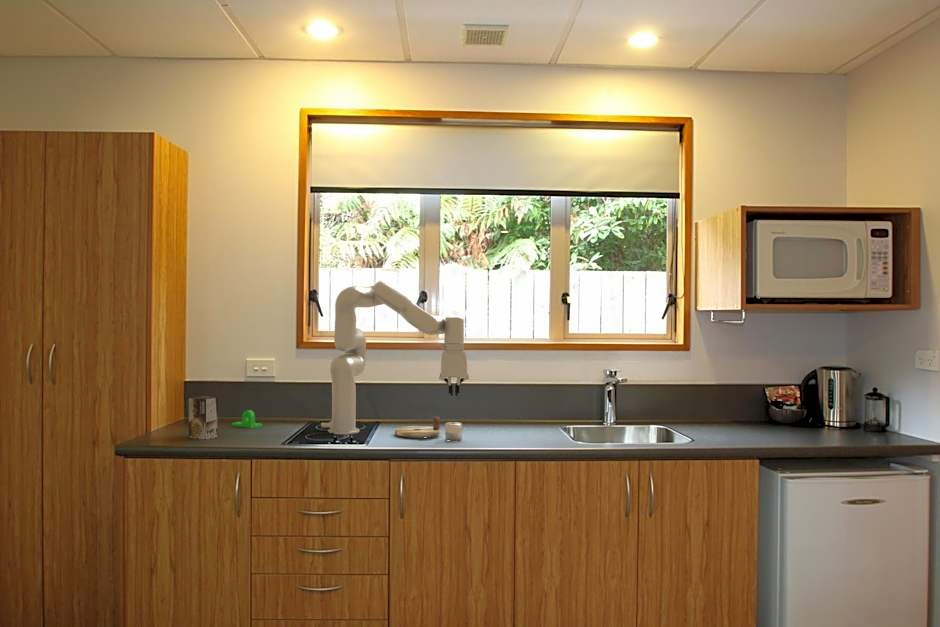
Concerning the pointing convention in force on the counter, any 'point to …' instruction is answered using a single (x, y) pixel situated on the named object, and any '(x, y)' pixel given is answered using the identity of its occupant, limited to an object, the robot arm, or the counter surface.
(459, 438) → the silver rounded piece
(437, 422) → the turntable
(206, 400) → the coffee box
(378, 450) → the counter surface
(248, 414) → the mechanical part
